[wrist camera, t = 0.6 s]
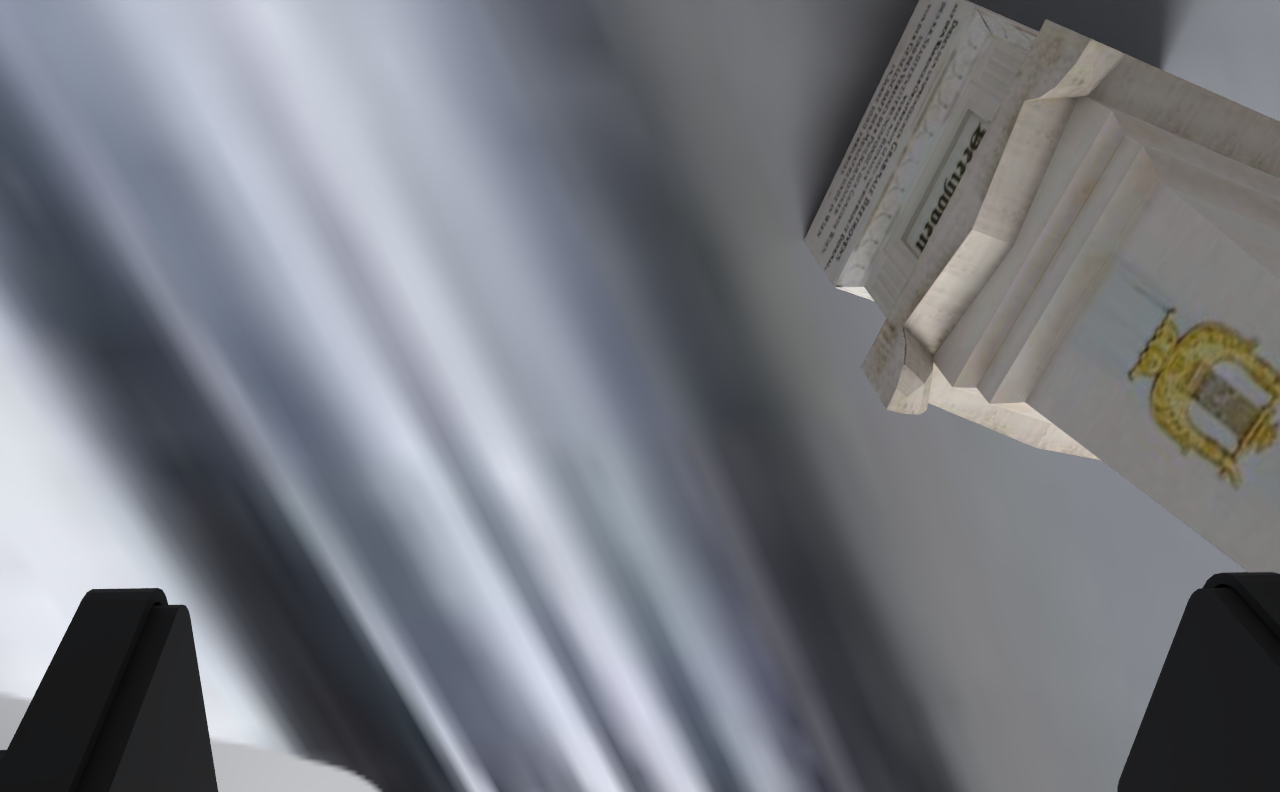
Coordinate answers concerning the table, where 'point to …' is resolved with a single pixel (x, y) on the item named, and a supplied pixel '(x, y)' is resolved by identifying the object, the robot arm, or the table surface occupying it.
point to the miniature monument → (1073, 260)
